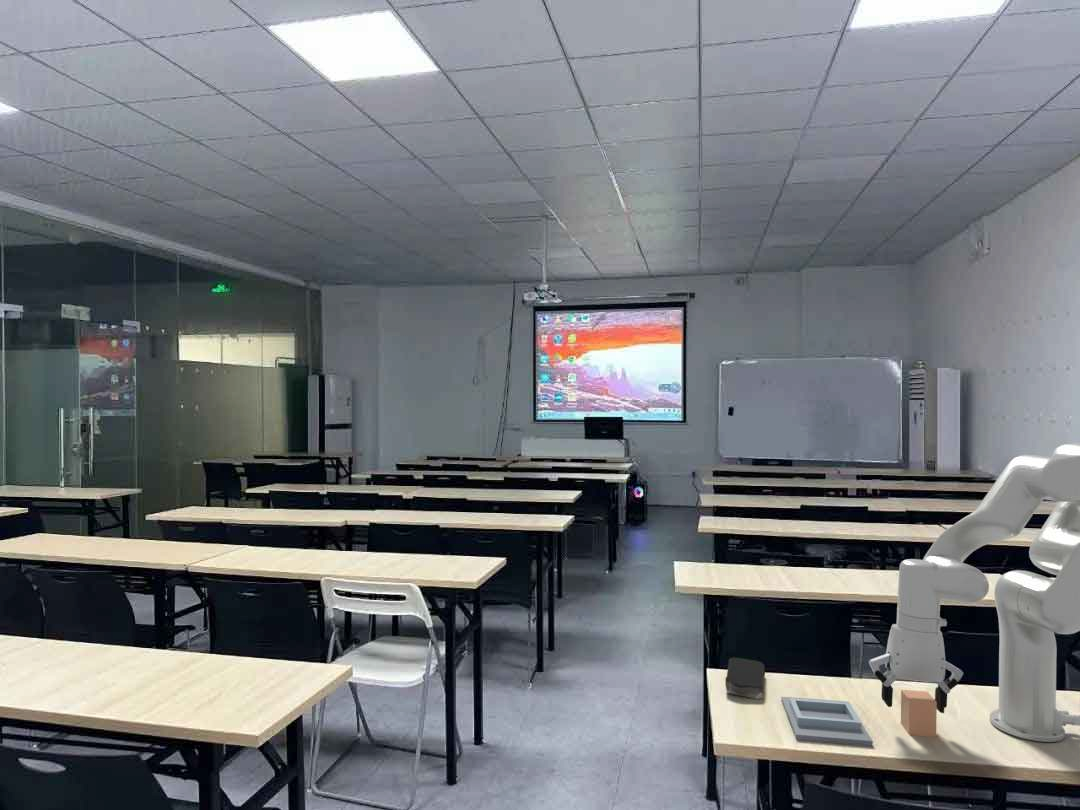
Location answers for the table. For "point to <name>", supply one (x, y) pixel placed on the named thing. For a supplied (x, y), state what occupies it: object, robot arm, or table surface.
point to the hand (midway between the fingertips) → (913, 707)
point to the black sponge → (745, 678)
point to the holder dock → (825, 721)
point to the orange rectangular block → (918, 713)
